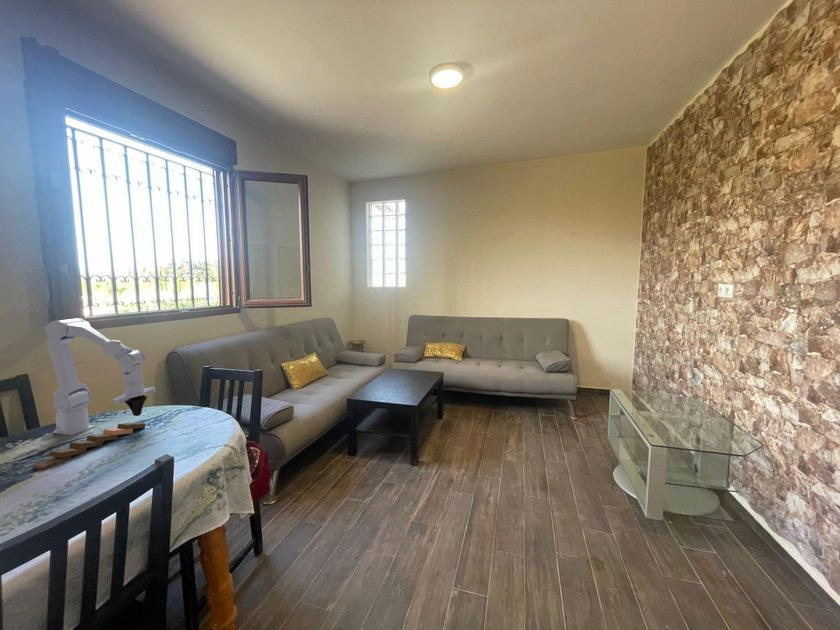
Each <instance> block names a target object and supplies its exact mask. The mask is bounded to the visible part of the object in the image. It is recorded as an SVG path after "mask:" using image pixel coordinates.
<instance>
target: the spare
mask: <svg viewBox="0 0 840 630" xmlns="http://www.w3.org/2000/svg"><path fill="white" fill-rule="evenodd" d="M133 431H134V429H119V428H116V427H115V428H104V429H103V431H102V434H106V435H118V436H119V435H125V434H126V435H127V434H133Z"/></svg>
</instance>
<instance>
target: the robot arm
mask: <svg viewBox="0 0 840 630" xmlns="http://www.w3.org/2000/svg"><path fill="white" fill-rule="evenodd" d="M44 330H45V334H46V337H47V338H46V345H47V348H48V351H49V355H50V359H51V361H52V365H53V371H54V372H55V375H56V376H55V377H56V380H57V383H58V388H57V389H56V390H55V391H54V392H53V393H52V395H53V400H52V405H53V408H54V409H55V410H57V412H56V413H55V416H54V417H55V425H56V430H55V431H54V432H53V433H54V434H60V435H65V436H66V435H67V436H74V435H76V434H79V433H82V432H85V431H87V430H90V429H94V428H95V427H96V425H95V424H94V425H93V424H90V421H89V412H88V411H89V410H88V405H89V402H90V401H91V400H92V392H91V391H90V390H89V388H88V386H87V384H86V383H82V382H80V380H79V376H78V372H77V367H76V365H75V361H74V358H73V354H72V350H71V347H70V343H71V342H72V341H73V340H74V339H75V338H76V337H81V338H82V339H83V338H84V339H85V340H87V341H89V342H91V343H93V344H94V345H97V346H98V347H101V352H102V353H104V354H106V355H107V356H109V357H111V358H113V359H114V360H115V361H117V364H118V366H119V367H120V368H121V372H122V375H123V384H124V385H123V386H124V393H123V394H121V395H120V396H117V397H115V398H112V405H119V404H121V403H125V404H126V405H127V407H129V409H130V411H131V413H132V415H133V416H135V417H139V416H141V415H142V410H143V406H144V404H145V402H146V400H147V399H148V397H147V395H148V394H151V393H155V392H157V390H156V386H149V387H146V388H145V386H144V385H145V384H144V383H145V382H144V375H143V363H144V361H145V359H146V356H145V354H144V353H143V352H142V351H141V350H140V349H133V348H131V347H128V346H126V345H125V344H124V343H122V341H121V340H119V339H118V340H117V339H112V340H111V339H109V338H107V337H106V336H105V335H103V334H101V333H100V332H99V331H98V330H96V329H95V328H93V327H92V326H91V323H90V322H88V321H86V320H85V319H83V318H81V317H74V318H69V319H61V320H53V321H51V322H49V323H48V324H47V325H46V326H45V327H44Z"/></svg>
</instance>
